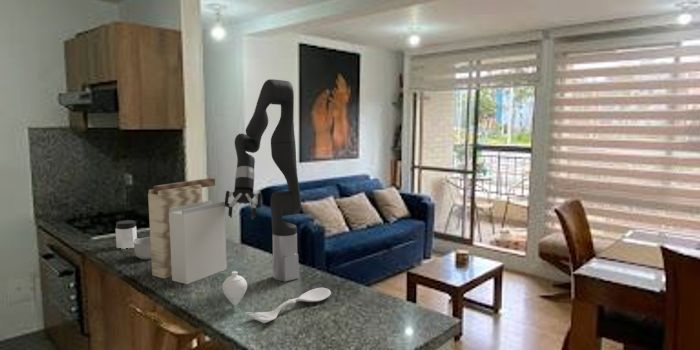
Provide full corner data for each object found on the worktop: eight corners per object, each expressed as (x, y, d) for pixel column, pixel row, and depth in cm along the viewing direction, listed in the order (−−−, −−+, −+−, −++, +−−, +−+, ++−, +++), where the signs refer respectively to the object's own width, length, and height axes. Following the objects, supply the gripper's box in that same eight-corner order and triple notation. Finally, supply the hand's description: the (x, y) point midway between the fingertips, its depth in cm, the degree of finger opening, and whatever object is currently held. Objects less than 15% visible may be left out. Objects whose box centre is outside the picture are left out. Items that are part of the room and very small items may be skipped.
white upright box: (212, 266, 191) (210, 200, 188) (226, 269, 187) (224, 202, 184) (172, 280, 174) (168, 208, 170) (186, 284, 170) (183, 210, 166)
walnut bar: (210, 184, 199) (209, 178, 199) (215, 185, 198) (214, 178, 198) (153, 193, 175) (153, 185, 175) (159, 194, 174) (158, 186, 174)
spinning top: (221, 305, 150) (220, 269, 149) (245, 302, 153) (244, 266, 152) (224, 314, 143) (223, 277, 142) (249, 310, 146) (248, 273, 145)
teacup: (165, 257, 203) (164, 239, 202) (140, 263, 195) (139, 244, 194) (151, 251, 212) (150, 234, 211) (127, 256, 204) (126, 238, 203)
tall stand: (193, 261, 196) (190, 183, 193) (204, 264, 193) (201, 184, 189) (152, 275, 179) (147, 189, 175) (164, 278, 176) (160, 191, 172)
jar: (117, 250, 214) (116, 224, 213) (115, 246, 221) (114, 221, 219) (138, 247, 219) (137, 222, 218) (135, 243, 226) (134, 219, 224)
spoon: (243, 322, 138) (243, 311, 138) (316, 292, 163) (316, 282, 162) (263, 331, 132) (263, 319, 132) (336, 298, 157) (336, 288, 157)
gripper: (226, 174, 184) (223, 213, 178) (263, 177, 187) (260, 216, 181) (226, 181, 191) (223, 219, 185) (261, 184, 194) (259, 221, 188)
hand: (241, 217), depth 183 cm, fingers open, 8 cm apart
